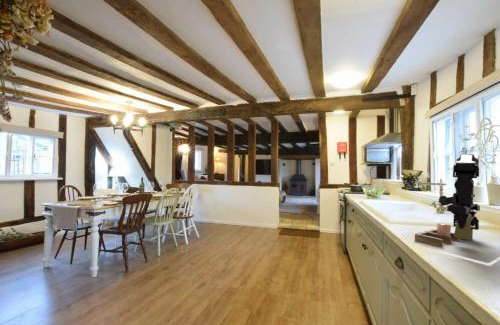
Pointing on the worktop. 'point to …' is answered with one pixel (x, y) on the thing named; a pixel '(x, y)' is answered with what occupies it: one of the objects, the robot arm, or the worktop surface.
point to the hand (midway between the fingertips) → (463, 228)
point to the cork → (464, 230)
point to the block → (443, 229)
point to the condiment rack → (435, 238)
